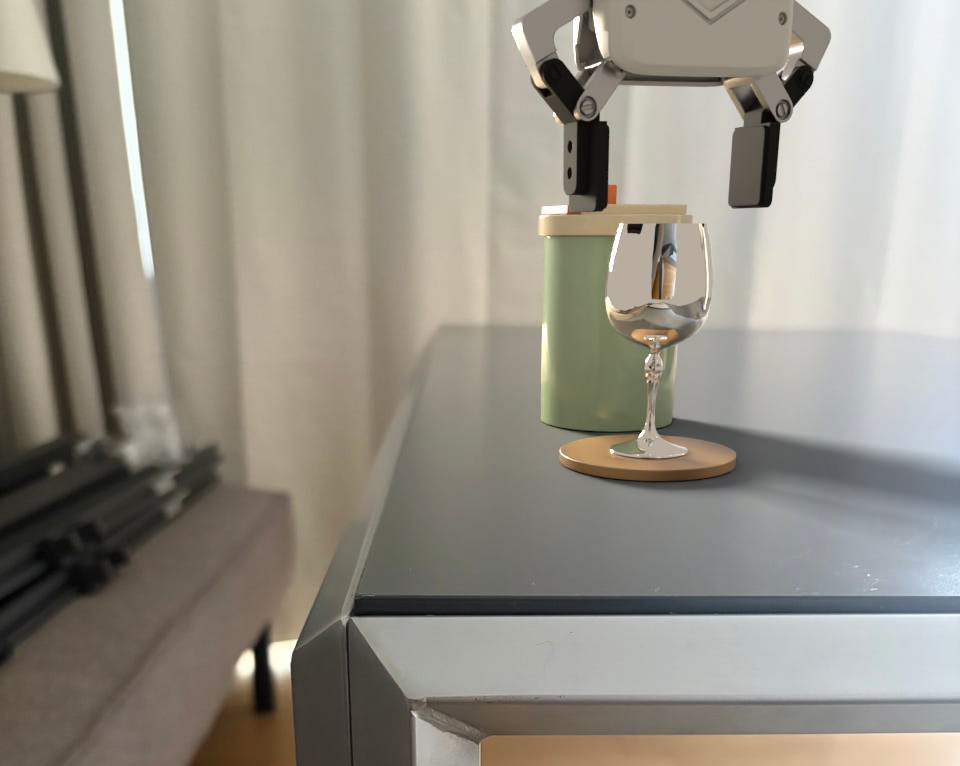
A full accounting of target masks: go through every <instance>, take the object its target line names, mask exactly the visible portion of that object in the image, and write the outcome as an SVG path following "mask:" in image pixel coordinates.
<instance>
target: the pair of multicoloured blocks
mask: <svg viewBox="0 0 960 766" xmlns="http://www.w3.org/2000/svg"><path fill="white" fill-rule="evenodd" d="M617 192H618V185H617V184H608V204H617V195H618V194H617ZM541 215H581V212H575V213H572V212H570V210H569V204H564V205H545V206H543V205H542V206H541Z"/></svg>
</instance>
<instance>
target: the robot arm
mask: <svg viewBox="0 0 960 766" xmlns="http://www.w3.org/2000/svg"><path fill="white" fill-rule="evenodd" d="M572 21H573V55H574V63H575V67H576V69H577V71H578V72H577V74H576V75H575V76H574V74H573V73H572V72H571V71H570V69H569V68H568V66H567V65H566V64H565V63H564V61H562V60H561V59H560V57H559V56H558V53H557V51H558V49H557V47H556V45H555V35H556V33H557V31H558V30H559V29H561V28H562V27H564V26H566V25H567V24H569V23H571V22H572ZM511 28H512V29H511V32H512V37H513V38H514V41H515V43H516V45H517V48H518V50H519V53H520V55H521V58H522V60H523V62H524V65H525V67H526V68H528V71H529V78H530V84H531V85H532V87H533V88H534V90H535V91H536V92H537V93H538V95H539V96H540V97H541V98H542V99H543V101H544V102H545V103H546V104H547V106H548V107H549V109H551V111H552V112H553V118H554V121H555V122H556V124H557V125H559V126H560V127H563V138H562V139H563V147H562V148H563V151H562V157H563V158H562V161H563V163H562V164H563V165H562V179H563V180H562V186H563V192H564V194H565V195H566V196H568V205H569V210H570V212H572V213H575V212H602V211H603V210H604V209H605V208H606V207H607V205H608V185H609V166H610V165H609V163H610V127H609V124H608V121H607V120H601V111H602V109H604V108H605V105H606V104H607V103H608V101H609V100H610V98H611V97H612V96H613V94H614V92H615V91H616V90H617V88H618V87H619V86H630V87H631V86H638V87H679V88H680V87H681V88H682V87H684V88H685V87H686V88H687V87H688V88H689V87H690V88H692V87H693V88H711V87H712V88H713V87H714V88H715V87H716V88H717V87H722V86H723V87H724V89H725V91H726V93H727V95H728V96H729V98H730V100H731V101H732V104H733V105H734V107H735V109H736V111H737V113H738V114H739V116H740V117H741V119H742V121H743V126H739V127H734V130H733V132H732V137H731V150H730V151H731V152H730V164H729V165H730V167H729V182H728V194H727V195H728V196H727V205H728V206H729V207H730V208H731V209H734V210H735V209H736V210H737V209H765V208H766V209H767V208H769V207H771V206H772V202H773V195H774V187H775V185H776V182H777V174H778V172H777V171H778V161H779V148H780V139H781V138H780V137H781V127H782V125H781V124H784V123H786V122H788V121H790V119H791V118H792V115H793V113H794V108H795V106H797V104H798V103H799V102H800V100H801V99H802V98H804V96H805V95H806V94H807V92H809V90H810V89H811V87H812V86H813V83H814V78H815V77H814V76H815V75H814V73H815V72H817V71H818V68H819V66H820V64H821V62H822V60H823V58H824V56H825V54H826V52H827V49H828V47H829V45H830V43H831V40H832V32H831V30H830V28H829V27H828V26H827V25H826V24H825V23H823V22H822V21H821V20H820V19H819V18H818V17H816V16H815V15H814V14H813V13H811V12H810V11H809V10H808V9H806V8H805V7H804V6H803V5H802V4H801V3H799V2H798V1H797V0H546V1H544V2H542V3H541V4H540V5H538V6H536V7H534V8H533V9H531V10H530V11H528V12H526V13H525V14H523V15H521V16H520V17H518V18H517V19H516V20H515V21H514V22H513V24H512V27H511ZM783 68H784V69H783ZM782 69H783V70H782ZM780 70H781V71H780ZM779 71H780V72H779ZM778 72H779V73H778Z"/></svg>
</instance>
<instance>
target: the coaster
mask: <svg viewBox="0 0 960 766" xmlns="http://www.w3.org/2000/svg"><path fill="white" fill-rule="evenodd" d="M639 435H640V434H612V435H611V434H610V435H600V436H592V437H585V438H580V439H575V440H572V441H570V442H567V443H565V444H563V445H562V446H561V447H560V448H559V456H558V457H559V462H560V464H561V465H562V466H564V467H565V468H568V469H569V470H572V471H575V472H578V473H581V474H584V475H590V476H594V477H599V478H606V479H612V480H613V479H614V480H624V481H635V482H637V481H638V482H682V481H694V480H695V481H696V480H703V479H709V478H714V477H718V476H722V475H725V474H727V473H731V472H732V471H733V470H734V469H735V468H736V465H737V453H736V451H735V450H733V449H732V448H730V447H727V446H725V445H723V444H719V443H716V442H714V441H713V442H712V441H708V440H703V439H698V438H692V437H684V436H676V435H675V436H674V435H662V434H661V435H660V434H658V435H659V436H660V437H661V438H662V439H664V440H666V441H668V442H670V443H674V444H678V445H681V446H684V447H686V448H687V449H688V453H687V454H685V455H683V456H679V457H674V458H662V459H647V458H633V457H626V456H621V455H617V454H614V453H612V452H611V451H610V450H609V449H610V446H612V445H614V444H617V443H621V442H627V441H630V440H633V439H635V438H637V437H638V436H639Z"/></svg>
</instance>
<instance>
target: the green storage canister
mask: <svg viewBox="0 0 960 766" xmlns="http://www.w3.org/2000/svg"><path fill="white" fill-rule="evenodd" d="M687 210H688V204H654V203H653V204H651V203H650V204H648V203H647V204H646V203H644V204H643V203H628V204H627V203H616V204H608V205H607V207H606V208H605V209H604V210H603V211H602V212H581V215H542V214H541V215H538V217H537V235H538V236H543V259H542V261H543V266H542V307H541V308H542V313H541V314H542V315H541V359H540V360H541V361H540V363H541V365H540V408H539V409H540V412H539V419H540V420H541V422H542V423H544V424H546V425H549V426H552V427H556V428H561V429H566V430H573V431H584V432H597V433H598V432H599V433H625V432H642V431H643V430H644V427H645V423H646V416H647V403H648V390H647V382H646V378H645V372H644V367H645V363H646V360H647V358H648V357H649V355H650V352H649V350H648V349H646V348H643V347H640V346H637V345H635V344H633V343H631V342H629V341H627V340H626V339H624V338H623V337H621V336H620V335H619V334H617V333H616V332H615V330H614V329H613V328H612V326H611V324H610V322H609V320H608V317H607V313H606V308H605V281H606V274H607V268H608V263H609V258H610V253H611V249H612V245H613V242H614V238H615V234H616V230H617V227H618V224H657V223H694V215H693V214H687ZM678 347H679V344H677V345H674V346H671V347H668V348H665V349H662V350H661V351H660V353H659V355H660V357H661V359H662V363H663V371H662V376H661V378H660V380H659V385H658V389H657V393H656V403H655V427H656V430H657V429H661V428H664V427H667V426H670V425H671V424H672V423H673V419H674V418H673V417H674V403H675V390H676V377H677V365H678V364H677V363H678Z"/></svg>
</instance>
